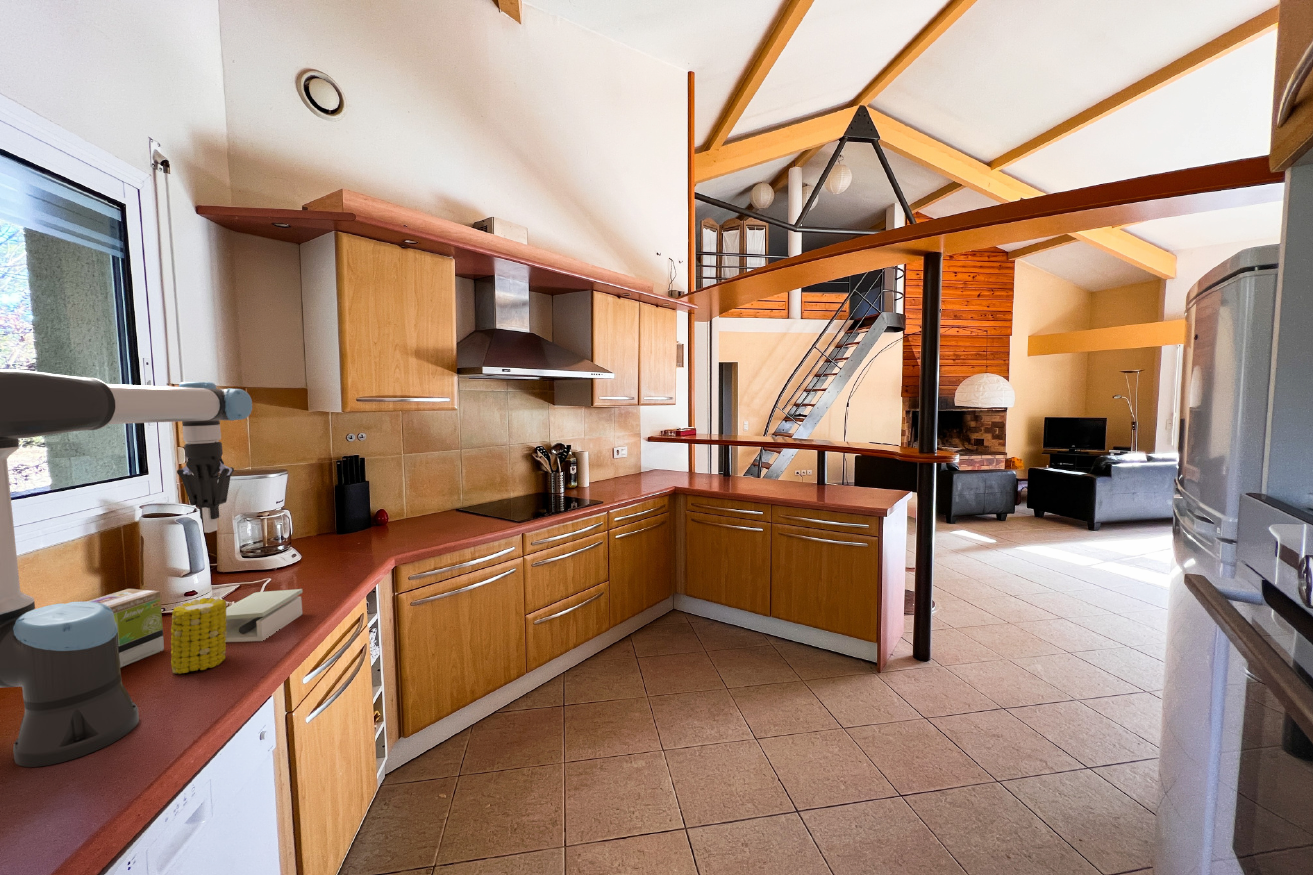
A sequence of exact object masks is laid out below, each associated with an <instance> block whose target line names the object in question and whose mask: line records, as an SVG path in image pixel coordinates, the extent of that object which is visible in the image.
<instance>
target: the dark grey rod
mask: <svg viewBox="0 0 1313 875" xmlns="http://www.w3.org/2000/svg"><path fill="white" fill-rule="evenodd" d="M275 610H276V609H275ZM273 611H274V610H273ZM270 613H271V612H270ZM268 614H269V613H268ZM265 616H266V615H265ZM261 618H263V617H256V618H255V619H253V620H251V621H250V622H248V623H246V624H245V625H243V626H241V627H240V628H239V632H240V633H241V634H245V633H247V632H249V631H250V630H252V629H253V628H255V627H257V624H256V621H258V620H259V619H261Z"/></svg>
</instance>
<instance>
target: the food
mask: <svg viewBox="0 0 1313 875" xmlns="http://www.w3.org/2000/svg"><path fill="white" fill-rule="evenodd" d="M226 603H227V601H226V600H225V599H223V598H222V599H221V598H220V597H218V598H216V599H215V598H213V597H212V598H205V597H203V598H200V599H193V600H192V601H191V602H185V603H182V605H178V606H175V607H174V608H173V610H172V611H171V614H172V615H171V626H170V628H171V629H170V633H171V636H170V637H171V640H170V643H171V646H170V649H171V651H170V654H171V658H170V659H171V660H170V664H171V670H172V671H171V672H172V674H176V675H177V674H178V675H180V674H185V673H186V674H187V673H190V672H194V671H198V670H200V671H204V670H205V671H206V670H207V669H208V668H210V669H213V668H215V667H216V666H219V665H220V664H221V663H222V662H223V661H225V659H226V650H227V647H226V646H227V644H226V643H227V642H225V641H226V636H225V635H227V632H226V618H227V617H226V609H227V606H226V605H227V604H226Z"/></svg>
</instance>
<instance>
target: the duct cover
mask: <svg viewBox="0 0 1313 875" xmlns="http://www.w3.org/2000/svg"><path fill="white" fill-rule="evenodd" d="M301 594H303V588H297V589H284V590H281V589H280V590H270V591H257V592H256V591H255V592H254V593H252V594H249V595H248V596H246V597H244V598H243V599H241V600H238V601H236V602H234V603H233V604H231V605H229V606H226V608H227V609H226V617H227V618H226V620H227V619H240V618H254V617H264V616H265V615H267V614H268V613H270V612H272V611H273V610H275V609H277V608H279V607H280V606H282V605H284V604H285V603H287V602H289V601H290V600H292V599H294V598H295V597H298V596H299V595H301Z"/></svg>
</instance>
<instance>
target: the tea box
mask: <svg viewBox="0 0 1313 875" xmlns="http://www.w3.org/2000/svg"><path fill="white" fill-rule="evenodd" d="M85 602H97V603H101V604H104V605H106V606H108V607H110V608H111V609H112V611H113V614H114V619H115V622H116V624H117V634H118V647H119V659H120V669H121V668H123V667H125V666H127V665H130V664H133V663H135V662H138V661H140V660H144V659H145V658H148V657H150V656H152V655H155V654H158V653H160V651H161V652H163V651H164V649H165V645H164V644H165V643H164V640H165V639H164V627H163V617H162V616H163V615H162V601H161V591H158V590H147V589H136V588H126V589H124V590H120V591H117V592H113V593H109V594H106V595H103V596H100V597H97V598H93V599H90V600H87V601H85Z"/></svg>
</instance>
